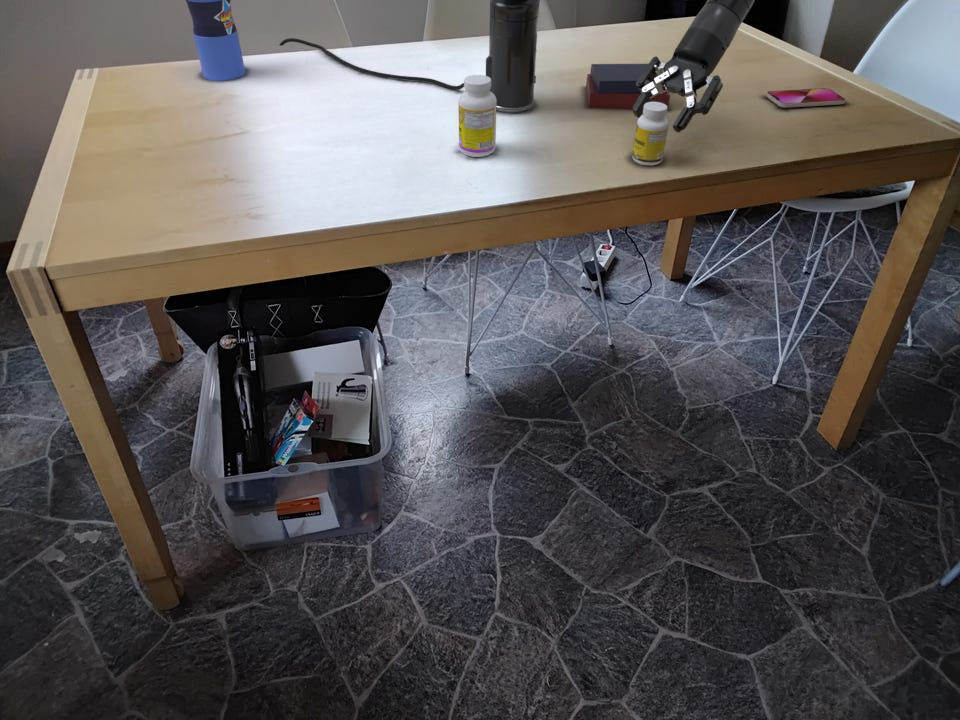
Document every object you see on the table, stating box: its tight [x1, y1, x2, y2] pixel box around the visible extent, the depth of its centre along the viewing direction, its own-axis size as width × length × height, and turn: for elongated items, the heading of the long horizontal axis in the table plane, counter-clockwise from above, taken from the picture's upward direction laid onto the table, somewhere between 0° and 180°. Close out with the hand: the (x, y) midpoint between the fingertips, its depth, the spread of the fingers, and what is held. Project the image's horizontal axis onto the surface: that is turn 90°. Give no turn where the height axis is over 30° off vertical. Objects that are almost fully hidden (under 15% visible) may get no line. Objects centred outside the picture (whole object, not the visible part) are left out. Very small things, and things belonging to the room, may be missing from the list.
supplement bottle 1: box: [458, 74, 497, 158], centre depth 128 cm, size 7×7×13 cm
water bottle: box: [185, 0, 246, 82], centre depth 152 cm, size 9×9×25 cm
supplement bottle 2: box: [631, 102, 670, 166], centre depth 127 cm, size 5×5×10 cm
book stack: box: [585, 63, 671, 111], centre depth 150 cm, size 16×11×6 cm
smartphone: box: [765, 87, 847, 109], centre depth 152 cm, size 7×1×15 cm
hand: (655, 122), depth 126 cm, fingers open, 8 cm apart
